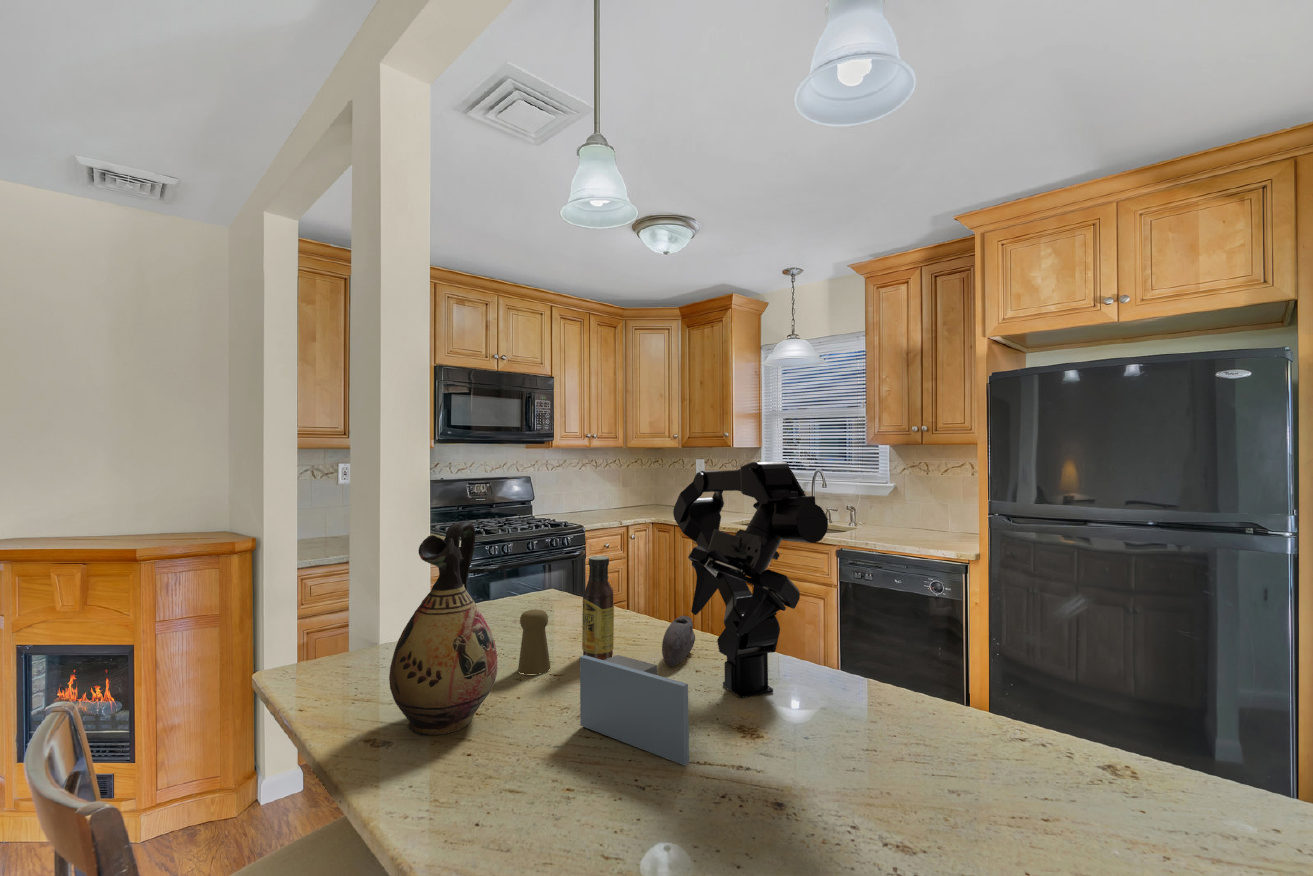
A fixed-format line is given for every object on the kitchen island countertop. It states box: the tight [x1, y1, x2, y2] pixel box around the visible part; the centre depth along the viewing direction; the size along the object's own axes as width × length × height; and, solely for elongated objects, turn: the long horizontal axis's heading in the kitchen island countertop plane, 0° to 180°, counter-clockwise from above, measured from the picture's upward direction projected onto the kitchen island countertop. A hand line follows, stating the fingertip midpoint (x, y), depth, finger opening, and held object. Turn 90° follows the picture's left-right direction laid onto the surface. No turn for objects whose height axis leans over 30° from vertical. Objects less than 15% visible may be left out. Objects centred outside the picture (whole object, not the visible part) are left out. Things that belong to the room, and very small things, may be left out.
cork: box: [517, 608, 551, 674], centre depth 115 cm, size 6×6×11 cm
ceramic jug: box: [388, 520, 498, 737], centre depth 94 cm, size 17×15×30 cm
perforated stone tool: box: [661, 615, 696, 667], centre depth 120 cm, size 15×5×7 cm, turn 162°
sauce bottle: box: [581, 555, 615, 660], centre depth 122 cm, size 7×6×20 cm
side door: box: [579, 655, 690, 766], centre depth 84 cm, size 1×19×10 cm, turn 51°
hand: (714, 623), depth 92 cm, fingers open, 9 cm apart
